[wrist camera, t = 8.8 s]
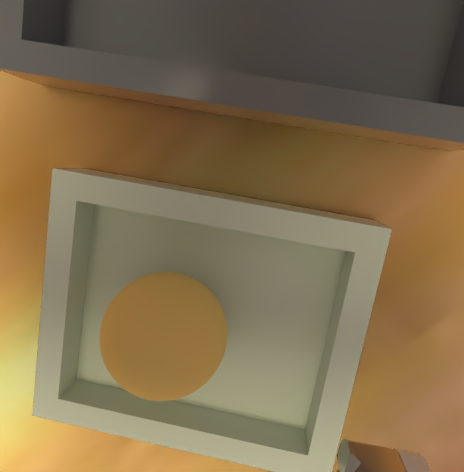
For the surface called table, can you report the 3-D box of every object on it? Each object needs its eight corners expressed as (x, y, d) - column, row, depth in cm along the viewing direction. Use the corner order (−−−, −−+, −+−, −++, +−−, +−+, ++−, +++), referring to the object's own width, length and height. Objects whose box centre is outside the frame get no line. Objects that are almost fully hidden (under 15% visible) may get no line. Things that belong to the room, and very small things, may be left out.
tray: (83, 168, 16) (52, 168, 14) (375, 220, 16) (391, 229, 13) (62, 385, 18) (32, 415, 16) (322, 443, 17) (328, 484, 15)
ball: (167, 252, 17) (77, 265, 13) (259, 283, 14) (183, 310, 11) (153, 348, 17) (65, 388, 14) (238, 391, 15) (161, 452, 12)
